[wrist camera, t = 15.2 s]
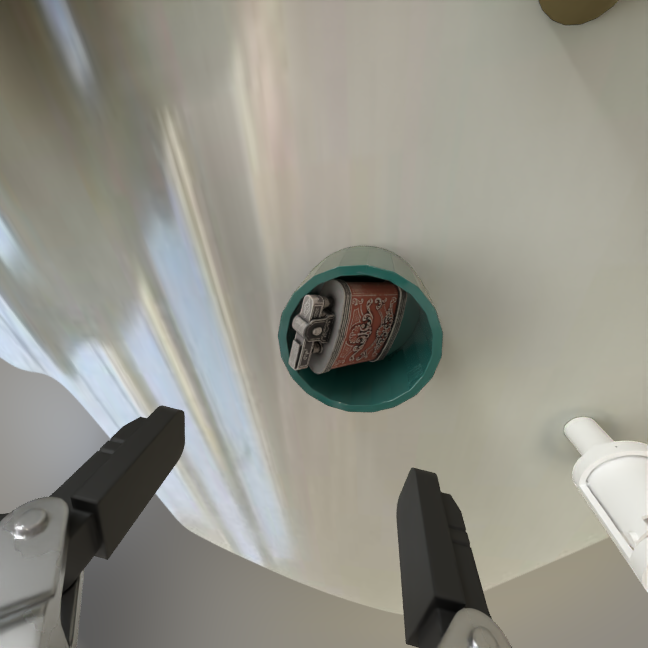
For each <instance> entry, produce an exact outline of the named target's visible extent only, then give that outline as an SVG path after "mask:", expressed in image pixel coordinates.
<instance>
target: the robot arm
mask: <svg viewBox="0 0 648 648" xmlns="http://www.w3.org/2000/svg"><path fill="white" fill-rule="evenodd" d="M184 445H185V416H184V412H183V411H182V410H178V409H174V408H170V407H166V406H159V407H158V408H157V409H156V410H155V411H154V412H153V413H152V414H151V415H150V416H149V417H148V418H143V417H139V418H138V419H136V420H134V421H132V422H130V423H128V424H127V425H125V426H123V427H122V428H121V429H120V430H119V431H118V432H117V433H116V434H115V435H114V436H113V437H112V438H111V440H110V441H108V442H106V444H104V445H103V446H102V447H101V448H100V451H97V452H96V453H95V454H94V455H93V456H92V457H91V458H90V459H89V460H88V461H87V462H86V463H85V464H83V465H82V466H81V467H80V468H79V469H78V470H77V471H76V472H75V473H74V474H73V475H72V476H71V477H70V478H69V479H68V480H67V481H66V482H65V483H64V484H63V485H61V487H59V488H58V489H57V490H56V491H55V492H54V493H53V494H52V495H50V496H49V497H43V498H38V499H35V500H32V501H30V502H27V503H25V504H23V505H21V506H19V507H18V508H16V509H15V510H13V511H12V512H10V513H7V514H0V648H77V639H78V629H79V618H80V607H81V597H82V588H83V577H84V568H85V567H86V566H87V564H88V563H89V562H90V560H91V559H92V557H93V556H97V557H100V558H104V559H107V560H108V558H109V557H110V556H111V554H112V553H113V551H114V550H115V549H116V547H117V546H118V544H119V543H120V542H121V540H122V539H123V538H124V536H125V535H126V533H127V532H128V531H129V529H130V528H131V526H132V525H133V523H134V522H135V521H136V519H137V518H138V516H139V515H140V514H141V512H142V511H143V509H144V508H145V507H146V505H147V504H148V502H149V501H150V500H151V498H152V497H153V495H154V494H155V493H156V491H157V490H158V488H159V487H160V486H161V484H162V483H163V481H164V480H165V479H166V477H167V476H168V474H169V473H170V472H171V470H172V469H173V467H174V466H175V465H176V463H177V462H178V460H179V458H180V457H181V454H182V452H183V449H184ZM397 530H398V543H399V557H400V570H401V583H402V597H403V610H404V624H405V637H406V644H408V645H412V646H416V647H419V648H512V647H511V645H510V643H509V641H508V639H507V638H506V636H505V634H504V633H503V631H502V630H501V629H500V628H499V626H498V625H497V624H496V623H495V622H494V621H493V620H492V618H491V616H490V614H489V611H488V608H487V604H486V601H485V597H484V593H483V590H482V586H481V582H480V579H479V575H478V571H477V568H476V564H475V561H474V557H473V553H472V550H471V548H470V542H469V539H468V535H467V533H466V528H465V524H464V521H463V517H462V513H461V511H460V509H459V507H458V506H457V504H456V503H455V501H454V500H453V498H452V496H451V495H450V494H446V493H442V492H441V491H440V486H439V482H438V478H437V475H436V474H435V473H432V472H428V471H424V470H420V469H416V468H411V470H410V472H409V474H408V477H407V479H406V482H405V484H404V486H403V489H402V491H401V494H400V496H399V499H398V504H397Z"/></svg>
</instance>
